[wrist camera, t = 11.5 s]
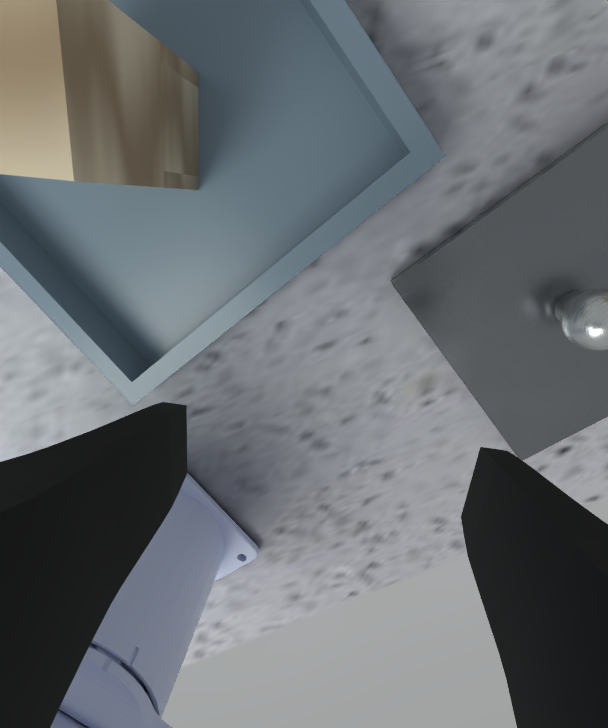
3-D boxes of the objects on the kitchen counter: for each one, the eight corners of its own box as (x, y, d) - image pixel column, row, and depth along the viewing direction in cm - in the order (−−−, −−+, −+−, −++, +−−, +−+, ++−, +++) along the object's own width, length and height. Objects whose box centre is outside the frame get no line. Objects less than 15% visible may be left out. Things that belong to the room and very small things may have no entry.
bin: (157, 383, 21) (132, 405, 19) (-100, 103, 18) (-169, 89, 16) (433, 162, 16) (445, 156, 14) (147, -275, 13) (101, -378, 11)
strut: (198, 190, 17) (73, 181, 10) (103, 181, 17) (-89, 165, 10) (198, 72, 16) (51, -45, 8) (94, 64, 16) (-138, -54, 9)
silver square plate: (514, 451, 20) (546, 503, 17) (390, 280, 18) (397, 299, 15) (749, 328, 17) (848, 360, 14) (632, 104, 15) (713, 75, 11)
